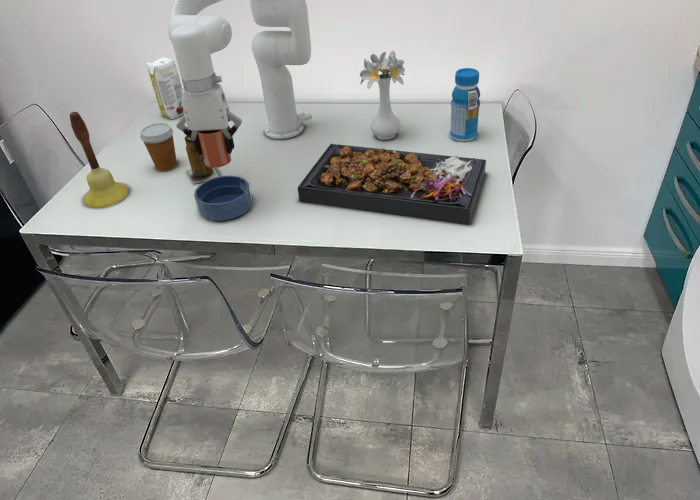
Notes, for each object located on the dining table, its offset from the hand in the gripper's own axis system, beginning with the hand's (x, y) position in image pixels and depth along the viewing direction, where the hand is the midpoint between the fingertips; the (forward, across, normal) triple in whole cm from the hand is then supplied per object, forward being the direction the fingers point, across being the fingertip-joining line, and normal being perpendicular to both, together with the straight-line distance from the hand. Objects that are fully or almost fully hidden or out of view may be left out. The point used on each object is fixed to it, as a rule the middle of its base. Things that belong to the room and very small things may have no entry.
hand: (215, 151), depth 140 cm
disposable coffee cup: (+17, +24, -24) cm, 38 cm away
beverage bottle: (+16, -67, -33) cm, 76 cm away
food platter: (+17, -44, -6) cm, 47 cm away
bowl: (+17, +1, 0) cm, 17 cm away
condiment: (+17, +11, -18) cm, 27 cm away
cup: (+3, 0, 0) cm, 3 cm away
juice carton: (+16, +31, -62) cm, 71 cm away
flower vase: (+16, -43, -37) cm, 59 cm away
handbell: (+17, +37, -9) cm, 41 cm away
